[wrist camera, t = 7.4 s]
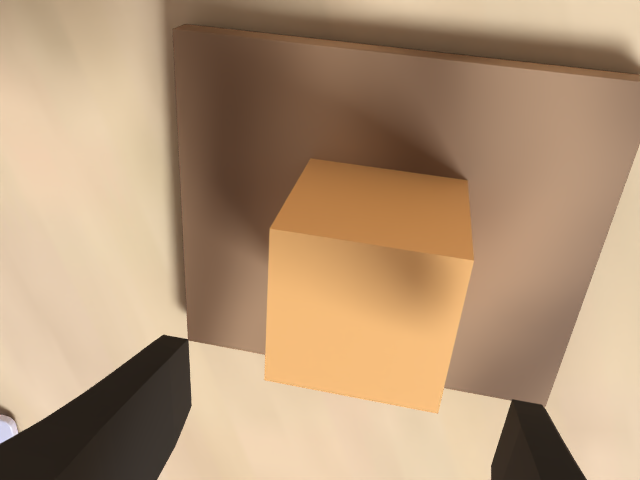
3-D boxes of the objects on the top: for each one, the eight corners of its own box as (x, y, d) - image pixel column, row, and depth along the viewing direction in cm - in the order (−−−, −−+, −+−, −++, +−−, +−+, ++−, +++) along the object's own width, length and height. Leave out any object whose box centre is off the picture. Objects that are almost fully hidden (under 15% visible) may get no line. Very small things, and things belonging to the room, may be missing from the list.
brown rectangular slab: (197, 325, 24) (147, 405, 20) (185, 24, 18) (111, 52, 14) (541, 388, 22) (562, 490, 18) (650, 75, 17) (715, 124, 13)
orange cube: (301, 287, 21) (264, 379, 17) (310, 158, 19) (269, 228, 14) (439, 310, 21) (438, 413, 16) (467, 180, 18) (474, 260, 14)
